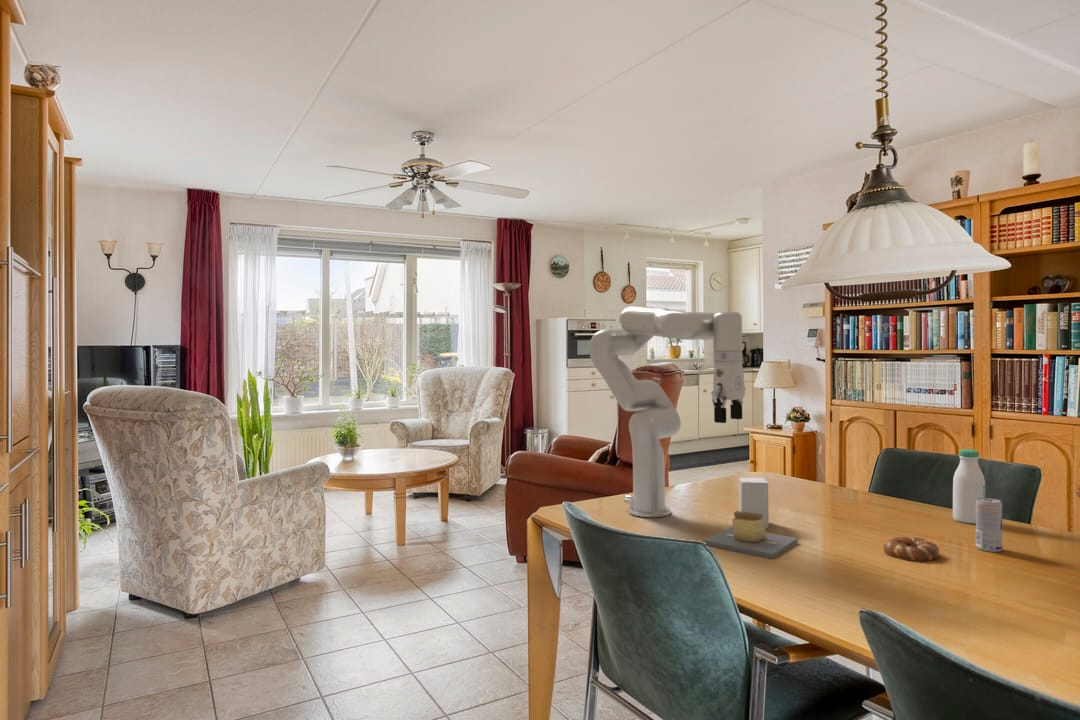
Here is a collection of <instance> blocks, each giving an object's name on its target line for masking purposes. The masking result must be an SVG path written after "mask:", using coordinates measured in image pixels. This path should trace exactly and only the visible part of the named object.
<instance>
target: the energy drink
mask: <svg viewBox="0 0 1080 720" xmlns="http://www.w3.org/2000/svg"><path fill="white" fill-rule="evenodd" d="M975 547H976V548H977V549H978V550H980V549H981V550H980V551H983V550H984V551H983V552H988V551H989V552H988V553H999V552H1002V551H1003V503H1002V501H1001V500H1000V499H996V498H991V497H985V498H977V501H976V524H975Z"/></svg>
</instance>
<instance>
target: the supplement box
mask: <svg viewBox="0 0 1080 720" xmlns="http://www.w3.org/2000/svg"><path fill="white" fill-rule="evenodd" d="M738 505H739V506H738V507H739V508H738V511H741V512H751V513H761V514H763V516H765V529H768V528H769V526H770V524H769V522H770V521H769V520H770V519H769V516H770V515H769V513H770V512H769V482H768V481H767V480H766V478H765V477H739V478H738Z"/></svg>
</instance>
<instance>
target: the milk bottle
mask: <svg viewBox="0 0 1080 720" xmlns="http://www.w3.org/2000/svg"><path fill="white" fill-rule="evenodd" d="M958 453H959V454H958V455H959V459H960V460H959V464H958V466H957V468H956V470H955V472H954V475H953V479H952V519H953V520H954V521H957V522H960V523H963V524H974V525H976V501H977V498H986V480H985V479H986V478H985V476H984V473H983V471H982V470H981V468H980V465H979V459H980V457H979V456H980V453H979V450H977V449H969V448H968V449H967V448H965V449H964V448H963V449H959V452H958Z"/></svg>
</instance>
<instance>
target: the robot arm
mask: <svg viewBox="0 0 1080 720" xmlns="http://www.w3.org/2000/svg"><path fill="white" fill-rule="evenodd" d="M618 321H619V322H618V323H619V325H620V327H621V328H606V329H602V330H599V331H597V332H595V333H594V334H593V335H592V337H591V339H590V342H589V356H590V360H591V362H592V365H594V367H595V369H596V370H597V372H598V373H599V374H600V376H601V377H602V378H603V380H604V381H605V383H606V385H607V387H608V388H609V390H610V391H611V393H612V395H613V397H614V398H615V400H616V401H617V404H619V406H620V408H621V409H623V410H624V411H625V412H634V413H633V414H632V415H631V417H630V419H629V422H628V432H629V435H630V439H631V446H632V447H631V448H632V484H633V486H632V493H633V494H632V495H629V494H628V495H627V494H626V495H625V496H624V498H623V503H626V504H629V505H630V506H629V507H628V508H627V509H628V513H629V514H630V515H632V516H635V517H639V516H640V517H641V518H660V517H666V516H668V515H670V514H671V508H670V507H668V506H667V505H666V491H665V490H666V488H665V487H666V485H665V484H666V483H665V482H666V481H665V478H666V477H665V475H666V474H665V471H666V470H665V453H664V448H663V447H662V444H661V441H660V439H666V438H671V437H673V436H675V435H677V434H678V432H679V431H680V429H681V427H682V426H681V425H682V422H681V417H680V414H679V412H678V411H677V409H676V407H675V406H674V404H673V403H672V402H671V400H670V399H669V397H668V395H667V394H666V392H665V391H664V389H663V388H662V386H661V385H659V384H658V383H657V382H656V381H654V380H650V379H641V380H640V379H638V378H636V377H635V376H634V374H633V373H632V371H631V370H630V368H629V367H628V365H627V364H626V363H625V362H623V360H621V359H620V358H619V357H618V356H630V355H634V354H637V352H639V351H640V350H642V348H643V347H644V346H645V345H647V343H648V342H649V341H650V340H651V339H652V338H654V337H661V338H670V339H678V340H679V339H680V340H689V341H690V340H691V341H695V340H713V341H712V342H713V346H712V347H713V354H712V355H713V364H714V369H713V385H712V387H713V390H711V398H712V399H711V400H712V403H713V404H712V407H713V412H714V413H713V414H714V415H713V417H714V418H713V419H714V423H718V424H725V423H727V407H726V404H727V401H730V402H731V404H730V419H731V420H742V419H743V404H744V401H743V399H744V397H745V396H746V395H745V394H746V393H745V392H746V389H745V375H744V374H745V373H744V368H743V317H742V314H741V313H739V312H738V311H723V312H717V313H716V312H715V313H714V312H702V311H701V312H698V311H697V312H695V311H694V312H693V311H692V312H690V311H689V312H688V311H676V310H675V311H672V310H670V309H668V308H667V307H655V306H648V305H647V306H645V305H643V306H640V305H632V306H628V307H626V308H624V309H623V310H622V311H621V313H620V315H619V319H618Z"/></svg>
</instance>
